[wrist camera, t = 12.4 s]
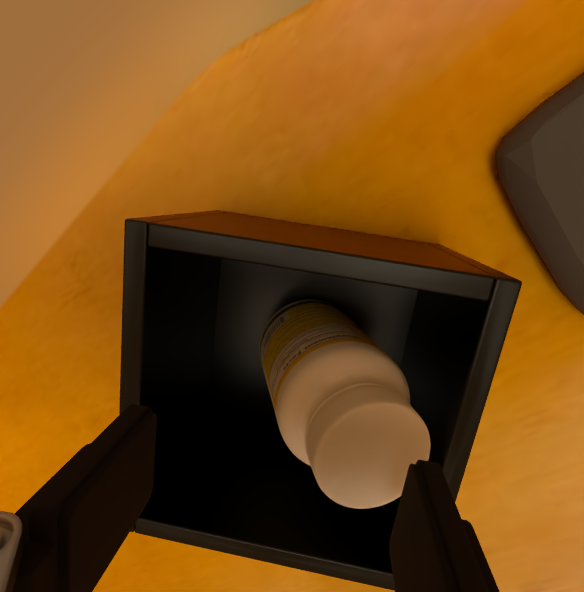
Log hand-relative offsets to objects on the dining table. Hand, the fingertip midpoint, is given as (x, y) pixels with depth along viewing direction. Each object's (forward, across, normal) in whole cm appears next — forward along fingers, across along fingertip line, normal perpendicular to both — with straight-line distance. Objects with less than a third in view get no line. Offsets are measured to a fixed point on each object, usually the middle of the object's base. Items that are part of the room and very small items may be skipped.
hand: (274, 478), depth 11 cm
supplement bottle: (+11, 0, 0) cm, 11 cm away
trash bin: (+13, 0, 0) cm, 13 cm away
